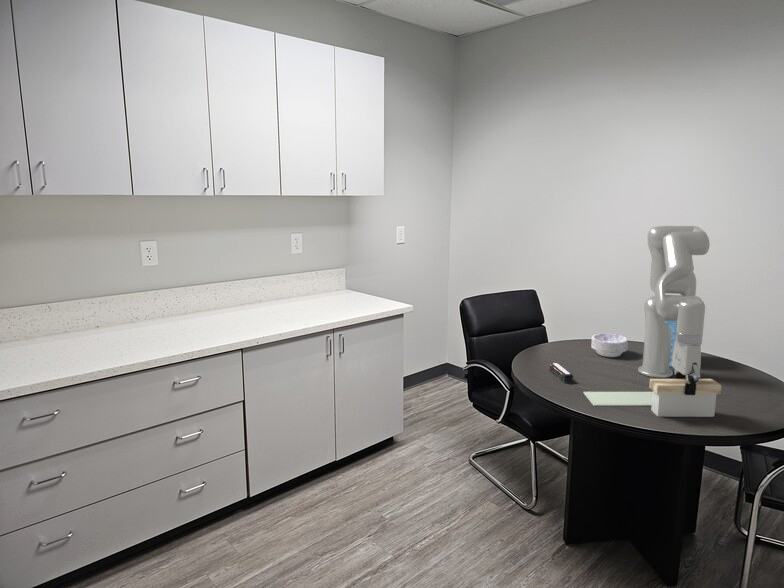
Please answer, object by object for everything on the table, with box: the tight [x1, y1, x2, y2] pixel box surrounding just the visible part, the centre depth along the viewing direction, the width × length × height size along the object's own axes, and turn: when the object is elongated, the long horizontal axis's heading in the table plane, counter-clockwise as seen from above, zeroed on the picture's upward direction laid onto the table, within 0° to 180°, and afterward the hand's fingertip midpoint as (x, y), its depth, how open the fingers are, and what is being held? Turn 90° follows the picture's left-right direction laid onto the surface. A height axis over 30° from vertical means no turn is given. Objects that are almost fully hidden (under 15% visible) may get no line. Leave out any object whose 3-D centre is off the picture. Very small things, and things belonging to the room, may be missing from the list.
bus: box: [549, 362, 574, 385], centre depth 214 cm, size 14×25×4 cm, turn 5°
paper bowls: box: [590, 333, 629, 358], centre depth 239 cm, size 15×15×8 cm
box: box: [650, 390, 717, 418], centre depth 175 cm, size 5×18×8 cm, turn 87°
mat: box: [583, 391, 653, 407], centre depth 188 cm, size 12×26×1 cm, turn 87°
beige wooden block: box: [648, 378, 722, 395], centre depth 174 cm, size 6×20×3 cm, turn 87°
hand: (684, 390), depth 174 cm, fingers open, 6 cm apart
